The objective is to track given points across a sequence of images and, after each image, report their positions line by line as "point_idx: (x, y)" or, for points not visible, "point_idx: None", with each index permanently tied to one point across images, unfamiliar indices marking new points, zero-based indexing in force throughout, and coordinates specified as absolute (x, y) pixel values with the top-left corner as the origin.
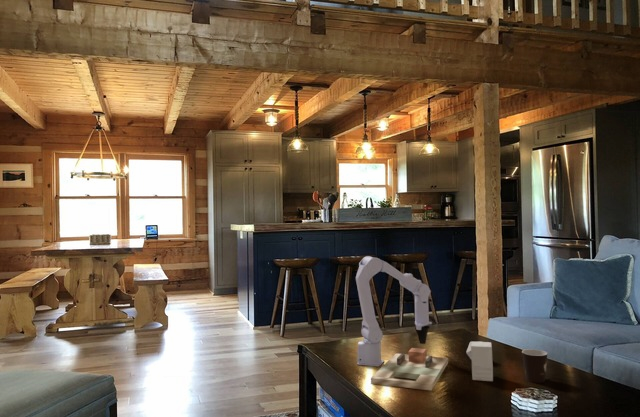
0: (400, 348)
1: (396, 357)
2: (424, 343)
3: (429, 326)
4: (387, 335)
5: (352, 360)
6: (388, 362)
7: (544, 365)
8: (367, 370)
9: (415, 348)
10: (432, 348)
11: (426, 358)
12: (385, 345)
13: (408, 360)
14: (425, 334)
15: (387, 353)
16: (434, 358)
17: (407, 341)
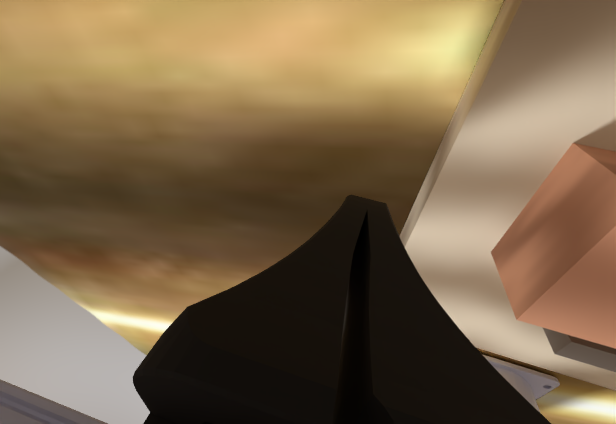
0: (190, 253)
1: (474, 327)
2: (388, 209)
3: (209, 382)
4: (43, 273)
5: None
6: (599, 377)
7: None
8: (608, 414)
9: (558, 299)
10: (91, 76)
11: (578, 144)
12: (174, 297)
13: None
14: (442, 310)
15: None
16: (586, 47)
17: (61, 214)
